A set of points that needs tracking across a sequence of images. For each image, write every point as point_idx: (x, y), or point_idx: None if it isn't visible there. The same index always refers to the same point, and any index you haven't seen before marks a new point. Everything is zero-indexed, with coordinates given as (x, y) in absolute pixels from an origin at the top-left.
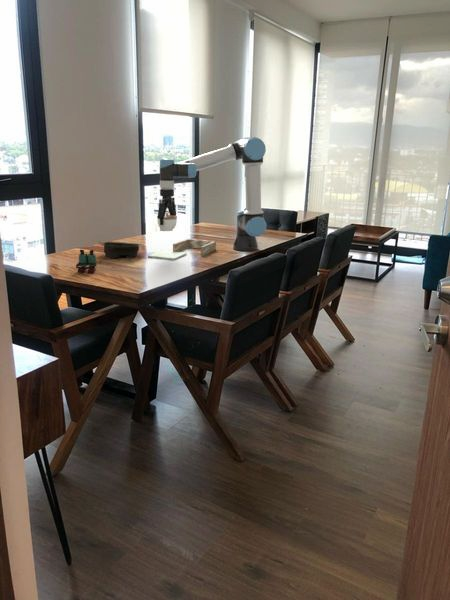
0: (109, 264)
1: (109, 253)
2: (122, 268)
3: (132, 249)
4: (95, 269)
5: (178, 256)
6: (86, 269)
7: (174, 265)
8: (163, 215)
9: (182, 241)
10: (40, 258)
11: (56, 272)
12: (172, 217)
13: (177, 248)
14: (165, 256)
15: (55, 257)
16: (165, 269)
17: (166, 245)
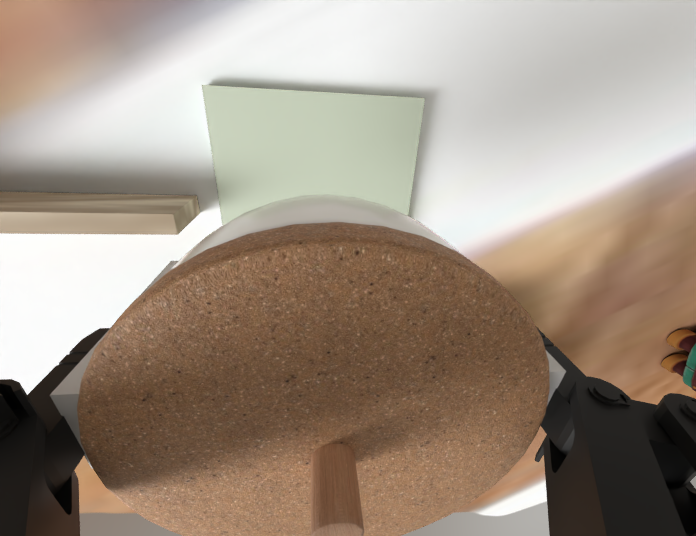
0: (571, 340)
1: None
2: (644, 266)
3: None
4: (687, 331)
5: (350, 95)
6: (676, 355)
7: (572, 24)
8: (650, 450)
9: (13, 211)
10: (510, 505)
11: None
12: (485, 280)
13: (147, 201)
14: (385, 183)
15: (490, 492)
16: (685, 39)
17: (36, 337)
